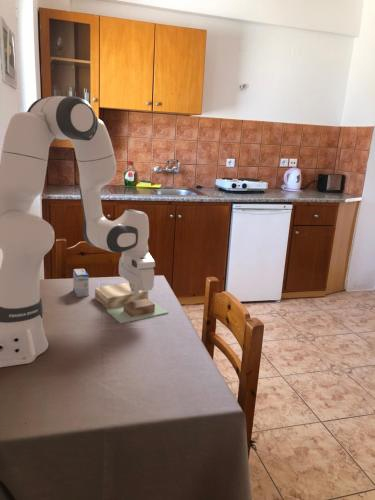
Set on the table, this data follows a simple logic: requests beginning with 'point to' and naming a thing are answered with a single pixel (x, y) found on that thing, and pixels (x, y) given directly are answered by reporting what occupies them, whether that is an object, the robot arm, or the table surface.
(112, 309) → the sage green mat
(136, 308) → the walnut tile
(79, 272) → the medicine box
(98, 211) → the robot arm
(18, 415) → the table surface
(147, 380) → the table surface
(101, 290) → the beech block
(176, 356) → the table surface
